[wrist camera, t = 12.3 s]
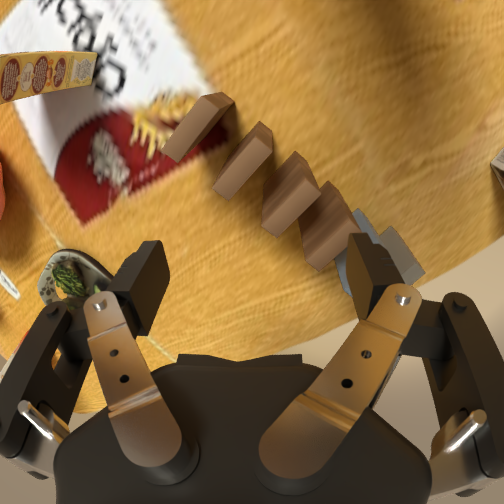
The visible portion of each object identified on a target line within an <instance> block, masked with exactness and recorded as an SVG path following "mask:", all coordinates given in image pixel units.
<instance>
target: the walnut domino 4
mask: <svg viewBox="0 0 504 504" xmlns="http://www.w3.org/2000/svg"><path fill="white" fill-rule="evenodd" d="M320 191H321V195H320V196H319V197H318V198H317V199H316V200H315V201H314V202H313V203H312V204H311V205H310V206H309V207H308V208H307V209H306V210H305V211H304V212H303V213H302V214H301V215H300V216H299V217H298V222H299V227H300V232H301V238H302V243H303V249H304V254H305V260H306V262H307V263H309V264H310V265H311V266H312V267H314V268H315V269H316V270H317V271H320V270H321V269H322V268H323V267H325V266H326V265H327V264H328V263H329V262H330V261H331V260H333V259H334V258H335V257H336V256H337V255H338V254H339V253H340V252H342V251H343V250H344V249H345V248H346V247H347V246H348V237H349V234H350V233H361V232H362V231H361V229H360V227H359V225H358V223H357V222H356V220H355V218H354V216H353V215H352V213H351V211H350V209H349V207H348V206H347V204H346V202H345V201H344V199H343V197H342V195H341V194H340V192H339V190H338V189H337V188H336V187H335V186H334V185H333V184H331V183H330V182H329V181H327V182H326V183H325V184H324V185H323V186H322V187H321V188H320Z"/></svg>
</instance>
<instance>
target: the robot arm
mask: <svg viewBox="0 0 504 504" xmlns="http://www.w3.org/2000/svg"><path fill="white" fill-rule="evenodd" d="M346 278H347V281H348V284H349V288H350V291H351V294H352V298H353V301H354V305H355V308H356V312H357V315H358V319H359V323H358V324H357V325H356V326H355V328H354V329H353V331H352V332H351V333H350V335H349V336H348V338H347V339H346V340H345V342H344V343H343V345H342V346H341V347H340V349H339V350H338V351H337V353H336V354H335V355H334V357H333V358H332V359H331V361H330V362H329V363H328V364H327V366H326V367H325V368H324V370H323V369H321V368H319V367H316V366H313V365H310V364H305V363H302V354H295V355H293V354H292V355H269V356H265V357H260V358H255V359H251V360H246V361H240V362H236V361H231V360H227V359H222V358H218V357H214V356H210V355H196V354H179V355H178V358H177V362H176V363H172V364H168V365H165V366H162V367H160V368H158V369H156V370H154V371H152V372H151V371H150V369H149V368H148V366H147V364H146V362H145V359H144V357H143V355H142V353H141V351H140V349H139V347H138V345H137V343H136V341H135V340H136V337H137V336H148V334H149V331H150V329H151V326H152V324H153V321H154V319H155V316H156V314H157V311H158V309H159V306H160V304H161V301H162V299H163V296H164V294H165V292H166V289H167V287H168V284H169V281H170V271H169V267H168V263H167V259H166V255H165V252H164V248H163V244H162V242H161V241H160V240H155V241H144V242H143V243H142V244H141V246H140V247H139V249H138V250H137V252H134V253H132V254H131V255H130V256H129V257H127V258H126V259H125V261H124V262H123V264H122V265H121V268H119V270H118V271H117V274H116V275H115V276H114V278H113V279H112V281H111V282H110V284H109V286H108V287H107V289H106V290H105V291H102V292H98V293H96V294H94V295H92V296H91V297H89V298H88V299H87V300H86V302H85V303H84V307H83V308H78V309H73V310H69V309H68V307H67V305H66V303H65V302H63V301H55V302H52V303H50V304H48V305H47V306H46V307H44V308H43V309H42V311H41V312H40V314H39V315H38V317H37V318H36V320H35V322H34V323H33V325H32V327H31V328H30V330H29V332H28V333H27V335H26V337H25V338H24V340H23V342H22V343H21V345H20V347H19V349H18V350H17V352H16V354H15V356H14V358H13V359H12V361H11V363H10V365H9V367H8V369H7V371H6V373H5V374H4V376H3V378H2V380H1V382H0V455H1V456H2V457H4V458H5V459H6V460H8V461H9V462H11V463H12V464H14V465H15V466H17V467H18V468H20V469H21V470H23V471H26V472H28V473H29V474H31V475H32V476H34V477H35V478H37V479H42V480H43V479H47V478H49V477H50V478H53V479H55V483H56V504H426V503H427V501H430V500H434V499H438V498H441V497H444V496H448V495H451V494H456V495H458V496H460V497H468V496H471V495H473V494H475V493H477V492H478V491H480V490H482V489H484V488H486V487H487V486H489V485H491V484H492V483H494V482H496V481H497V480H499V479H500V478H502V477H504V361H503V359H502V356H501V354H500V352H499V350H498V348H497V346H496V344H495V341H494V339H493V337H492V336H491V334H490V331H489V329H488V327H487V325H486V324H485V322H484V320H483V318H482V316H481V314H480V312H479V311H478V309H477V307H476V305H475V303H474V302H473V301H472V299H470V298H469V297H468V296H466V295H464V294H462V293H458V292H451V293H448V294H446V295H445V296H444V298H443V301H442V303H441V302H434V301H427V300H423V299H422V296H421V294H420V293H419V291H418V290H417V289H415V288H414V287H412V286H410V285H407V284H405V282H404V280H403V278H402V276H401V274H400V272H399V271H398V269H397V267H396V265H395V263H394V261H393V259H391V256H390V254H389V252H388V250H387V249H385V248H384V247H383V246H382V245H380V244H373V242H372V240H371V239H370V237H369V235H368V233H367V232H361V233H350V234H349V237H348V247H347V257H346ZM57 348H58V349H59V351H60V352H61V356H60V358H59V360H58V362H57V365H56V367H55V369H54V370H53V368H52V364H51V361H52V357H53V355H54V353H55V351H56V349H57ZM402 355H409V356H416V357H422V360H423V363H424V367H425V370H426V374H427V377H428V380H429V384H430V388H431V392H432V396H433V400H434V404H435V408H436V412H437V416H438V421H439V425H440V430H439V431H438V432H437V433H436V435H435V436H434V438H433V440H432V443H431V456H430V459H429V461H428V460H427V458H426V457H425V455H424V454H423V453H422V452H421V451H420V450H419V449H418V448H417V447H416V446H415V445H413V444H412V443H411V442H410V441H409V440H407V439H406V438H405V437H404V436H403V435H401V434H400V433H399V432H398V431H397V430H396V429H394V428H393V427H392V426H391V425H390V424H389V423H387V422H386V421H385V420H384V419H383V418H381V417H380V416H379V415H378V414H377V413H376V412H374V411H373V408H374V407H375V405H376V403H377V401H378V399H379V398H380V396H381V393H382V392H383V390H384V388H385V386H386V384H387V383H388V380H389V379H390V377H391V375H392V373H393V371H394V369H395V368H396V366H397V364H398V362H399V360H400V358H401V356H402ZM92 359H93V362H94V366H95V369H96V372H97V376H98V379H99V382H100V385H101V388H102V391H103V394H104V397H105V400H106V403H107V406H106V407H105V408H104V409H102V410H101V411H100V412H98V413H97V414H96V415H94V416H93V417H92V418H90V419H89V420H88V421H86V422H85V423H84V424H82V425H81V426H80V427H78V428H77V429H76V430H74V431H73V432H72V433H70V431H69V428H68V424H69V421H70V418H71V415H72V412H73V410H74V407H75V404H76V401H77V398H78V396H79V393H80V390H81V387H82V385H83V382H84V380H85V377H86V374H87V372H88V369H89V367H90V364H91V362H92Z"/></svg>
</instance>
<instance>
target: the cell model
mask: <svg viewBox="0 0 504 504" xmlns="http://www.w3.org/2000/svg"><path fill="white" fill-rule="evenodd" d="M5 199H6V196H5V189H4V186H3V171H2V165H1V162H0V220H1V217H2V215H3V212H4V208H5Z"/></svg>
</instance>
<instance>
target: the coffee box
mask: <svg viewBox="0 0 504 504" xmlns="http://www.w3.org/2000/svg"><path fill="white" fill-rule="evenodd" d="M490 165H491V167H492V169H493V171H494V172H495V174H496V176H497V178H498V180H499V182H500V184H501V186H502V187H503V189H504V147H503V148H502V150H501V151H500V152H499V153H498V154H497V156H496V157H495V158H494V159H493V160H492V161H491V163H490Z"/></svg>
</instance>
